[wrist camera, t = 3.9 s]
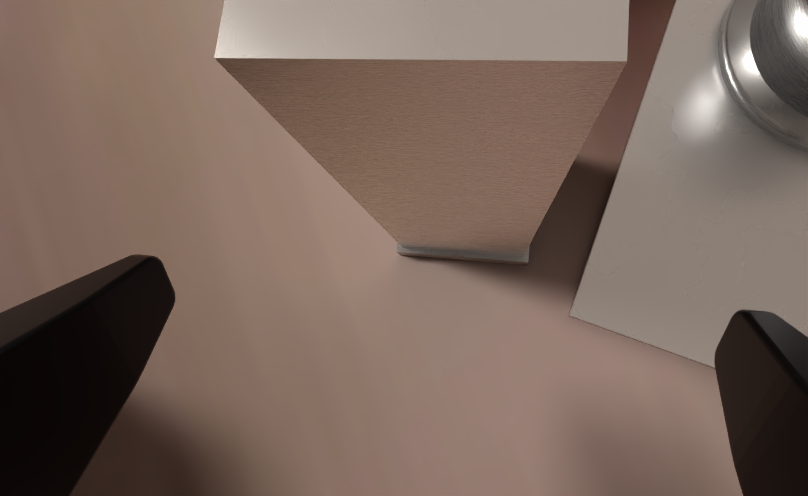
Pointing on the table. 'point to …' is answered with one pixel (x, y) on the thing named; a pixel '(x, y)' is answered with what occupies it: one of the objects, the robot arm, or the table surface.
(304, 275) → the table surface
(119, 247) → the table surface
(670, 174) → the duct flange
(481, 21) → the duct elbow
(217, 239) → the table surface
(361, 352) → the table surface
